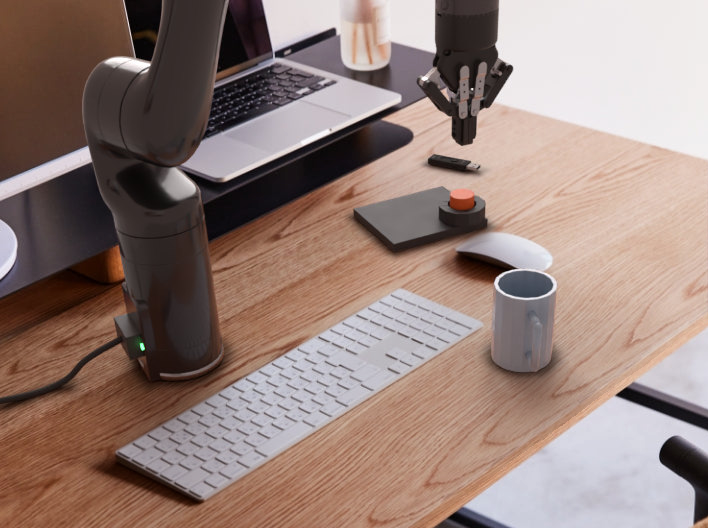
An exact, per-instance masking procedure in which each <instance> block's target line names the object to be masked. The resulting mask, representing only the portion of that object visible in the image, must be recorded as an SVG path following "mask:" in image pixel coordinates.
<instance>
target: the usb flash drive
mask: <svg viewBox="0 0 708 528" xmlns="http://www.w3.org/2000/svg"><path fill="white" fill-rule="evenodd" d="M427 164H428V165H433V166H437V167H443V168H448V169H453V170H457V171H463V172H466V171H468V170H470V171H475V172H477V171H478V170H479V169H480V168H481V166H482V165H481V164H479V163H475V162H472V161H471V160H468V159H463V158H458V157H452V156H447V155H443V154H437V153H433V154H432V155H430V156H429V157H428V158H427Z"/></svg>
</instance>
